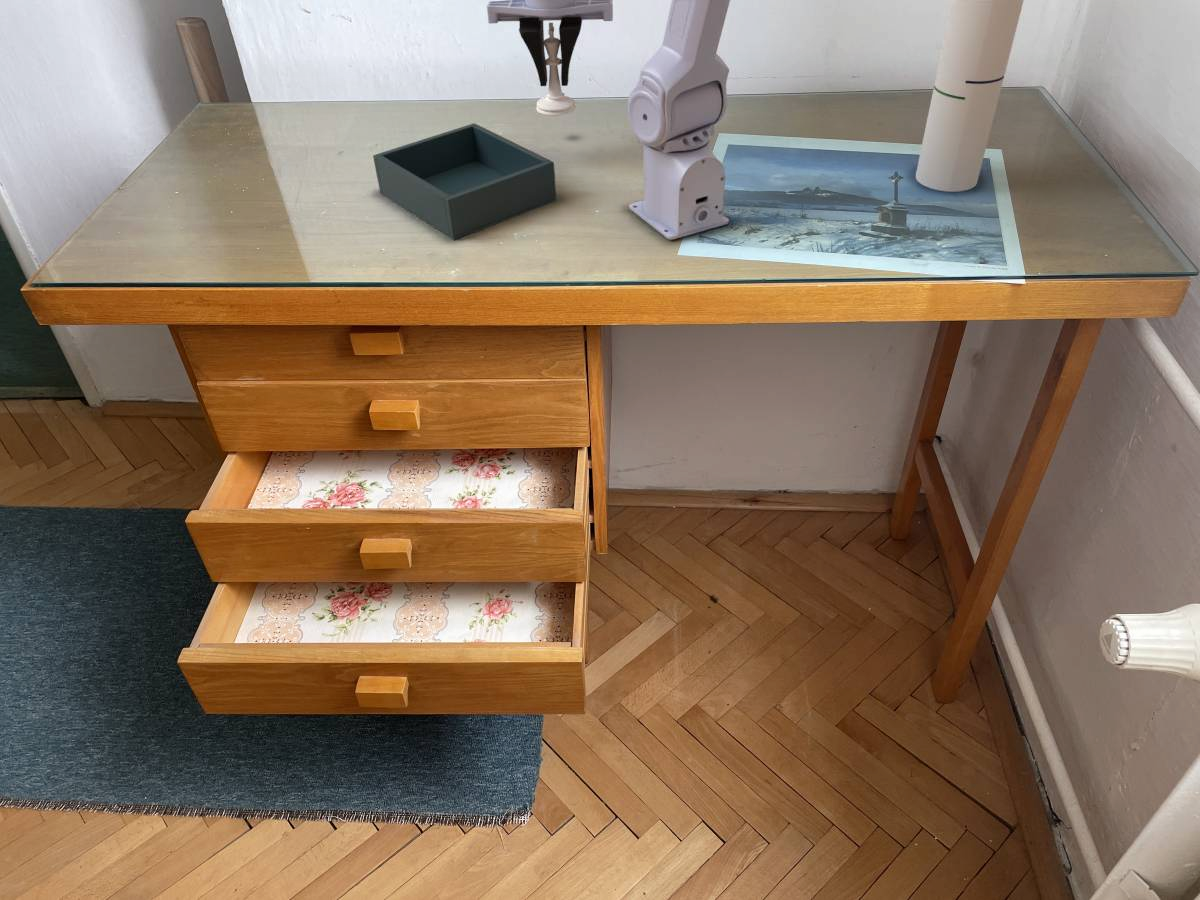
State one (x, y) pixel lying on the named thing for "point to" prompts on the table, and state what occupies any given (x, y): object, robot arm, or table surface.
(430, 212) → the dark green open box
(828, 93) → the table surface
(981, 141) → the cylindrical container
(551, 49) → the chess piece
